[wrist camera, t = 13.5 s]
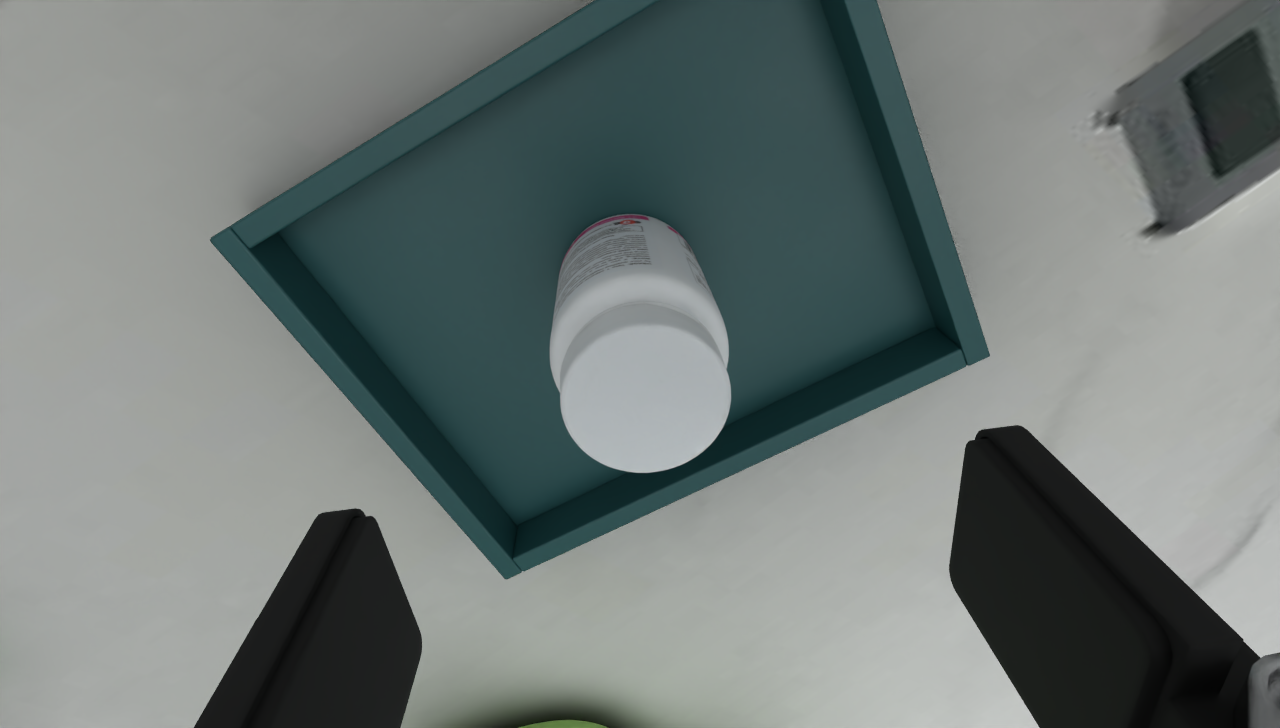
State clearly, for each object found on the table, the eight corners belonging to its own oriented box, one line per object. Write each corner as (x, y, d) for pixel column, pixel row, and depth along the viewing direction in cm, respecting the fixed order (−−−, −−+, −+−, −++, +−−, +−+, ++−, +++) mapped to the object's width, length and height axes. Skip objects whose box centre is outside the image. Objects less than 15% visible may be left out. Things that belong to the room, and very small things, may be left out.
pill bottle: (542, 320, 23) (516, 459, 16) (584, 190, 21) (577, 277, 14) (669, 359, 24) (701, 507, 17) (720, 238, 22) (782, 343, 15)
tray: (800, -124, 18) (830, -147, 16) (953, 326, 25) (990, 356, 23) (249, 217, 22) (207, 239, 19) (512, 535, 28) (505, 581, 26)
